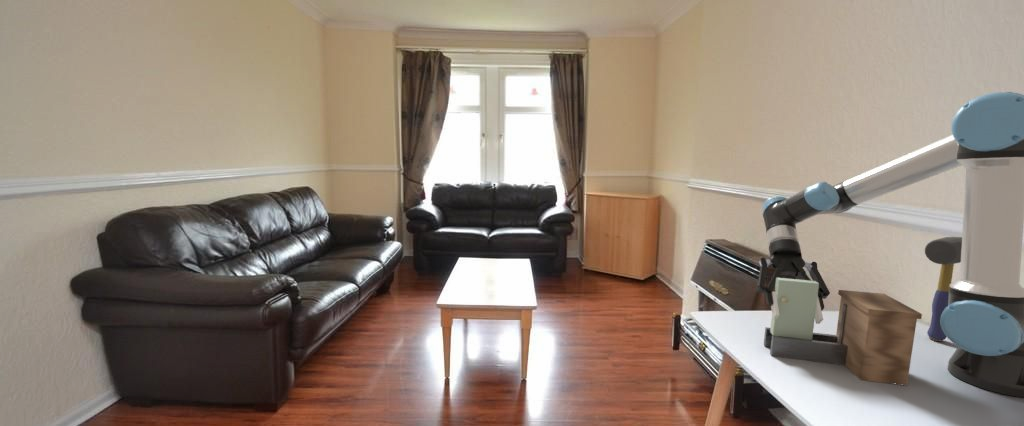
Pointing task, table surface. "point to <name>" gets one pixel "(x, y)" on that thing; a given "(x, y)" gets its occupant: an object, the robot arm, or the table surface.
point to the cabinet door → (795, 308)
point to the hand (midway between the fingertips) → (797, 319)
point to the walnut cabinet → (876, 335)
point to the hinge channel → (807, 348)
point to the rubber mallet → (942, 278)
